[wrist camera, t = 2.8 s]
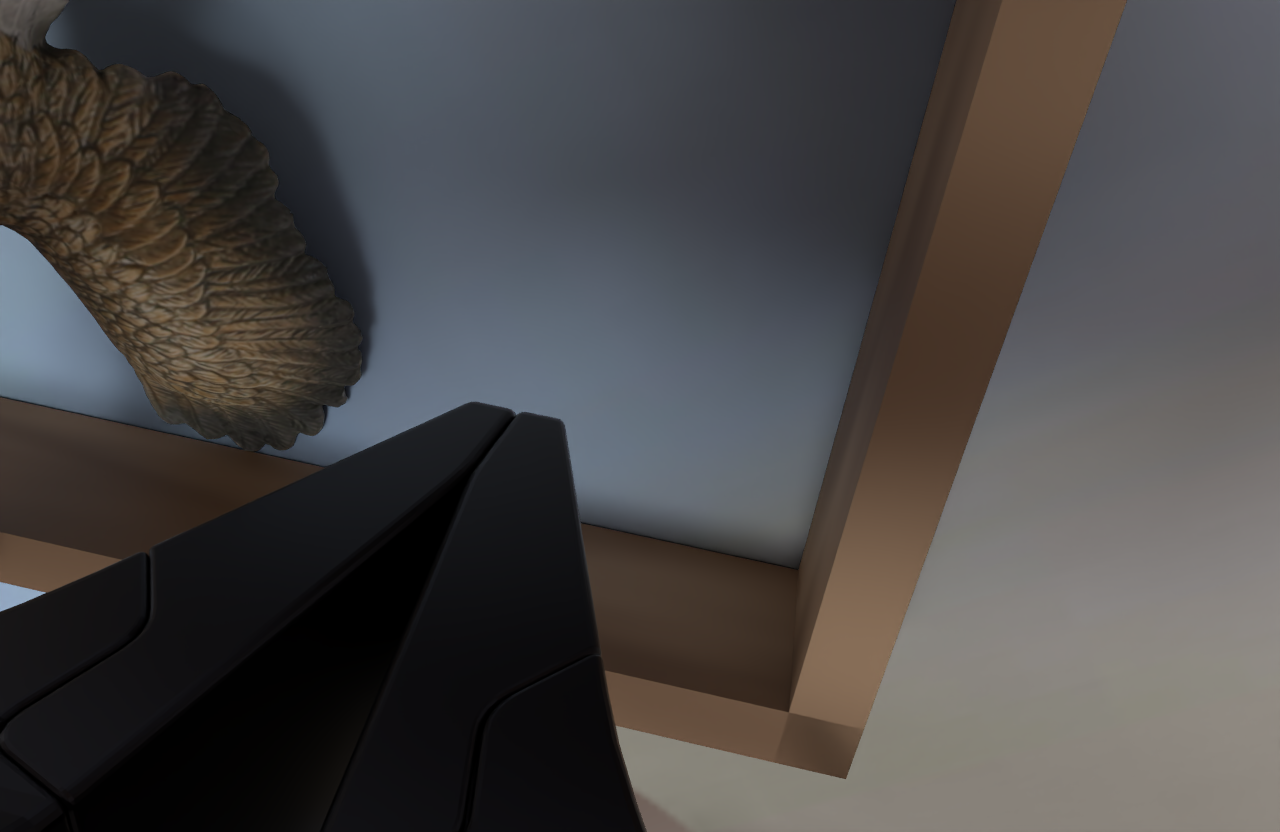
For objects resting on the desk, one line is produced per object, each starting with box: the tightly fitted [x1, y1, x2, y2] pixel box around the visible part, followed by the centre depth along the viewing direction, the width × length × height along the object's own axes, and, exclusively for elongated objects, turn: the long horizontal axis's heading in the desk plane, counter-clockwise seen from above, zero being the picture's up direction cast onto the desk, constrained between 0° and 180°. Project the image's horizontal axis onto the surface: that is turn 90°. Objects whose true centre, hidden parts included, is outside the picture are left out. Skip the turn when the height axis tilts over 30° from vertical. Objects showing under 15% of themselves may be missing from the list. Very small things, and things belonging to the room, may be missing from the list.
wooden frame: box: [0, 0, 1127, 779], centre depth 13 cm, size 12×18×3 cm, turn 83°
